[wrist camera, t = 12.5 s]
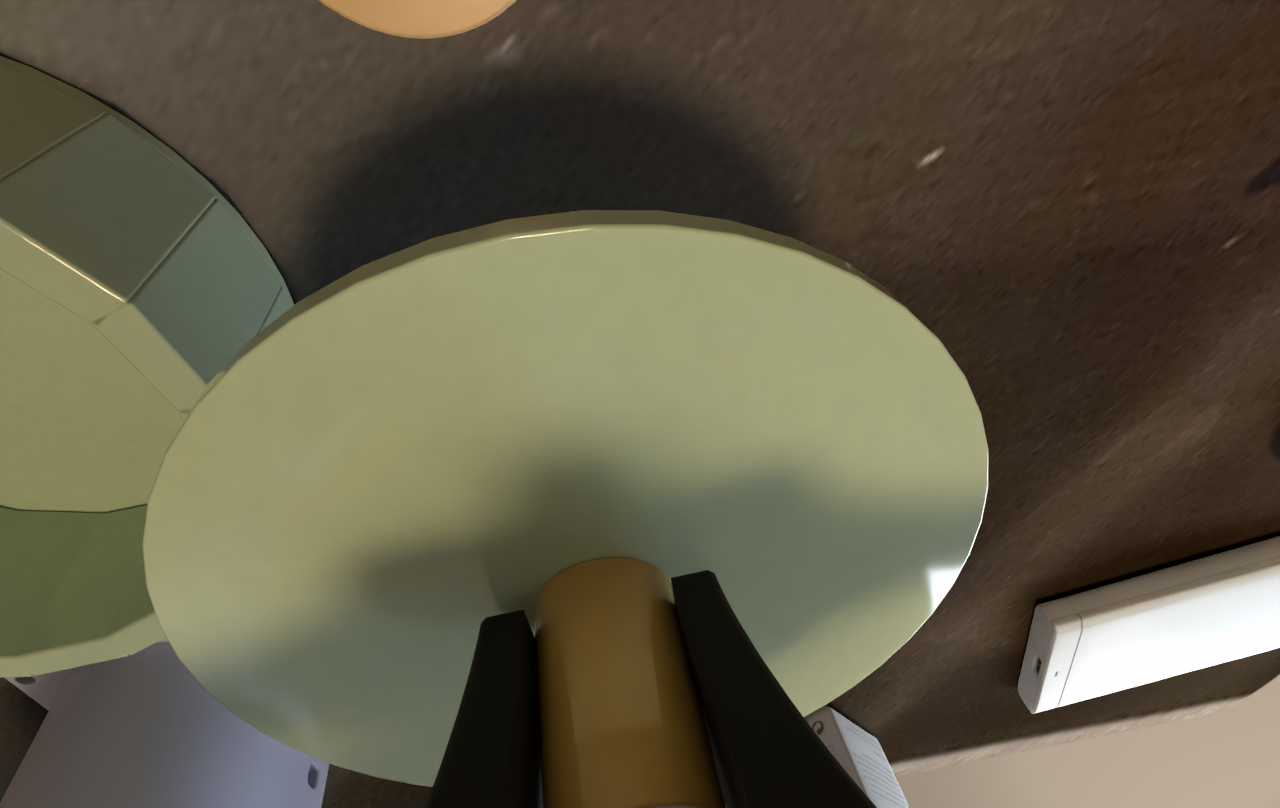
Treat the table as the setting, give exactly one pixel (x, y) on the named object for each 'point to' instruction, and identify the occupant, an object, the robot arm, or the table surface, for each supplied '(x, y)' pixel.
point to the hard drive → (1153, 627)
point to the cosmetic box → (858, 757)
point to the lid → (563, 492)
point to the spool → (419, 15)
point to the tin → (101, 358)
